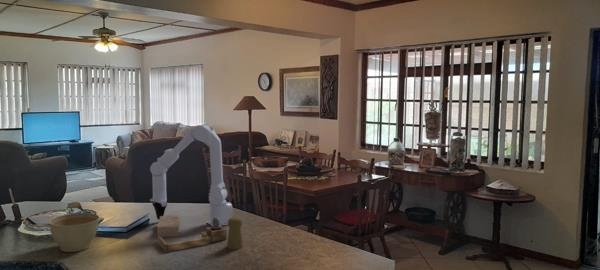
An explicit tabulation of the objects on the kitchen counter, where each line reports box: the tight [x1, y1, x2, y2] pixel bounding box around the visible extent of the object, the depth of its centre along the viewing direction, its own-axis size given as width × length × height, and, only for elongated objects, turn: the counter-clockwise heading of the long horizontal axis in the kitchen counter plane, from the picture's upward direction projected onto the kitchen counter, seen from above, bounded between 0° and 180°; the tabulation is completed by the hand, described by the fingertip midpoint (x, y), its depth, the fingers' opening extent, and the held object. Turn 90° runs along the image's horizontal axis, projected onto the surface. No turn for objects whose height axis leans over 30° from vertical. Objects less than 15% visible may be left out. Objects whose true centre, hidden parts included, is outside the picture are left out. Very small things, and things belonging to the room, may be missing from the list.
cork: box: [226, 216, 244, 250], centre depth 160 cm, size 6×6×11 cm
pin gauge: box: [212, 218, 219, 231], centre depth 169 cm, size 2×2×8 cm
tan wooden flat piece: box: [157, 231, 212, 253], centre depth 163 cm, size 17×11×2 cm, turn 123°
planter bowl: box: [48, 212, 100, 253], centre depth 157 cm, size 16×16×11 cm
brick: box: [156, 214, 181, 238], centre depth 179 cm, size 17×8×5 cm, turn 13°
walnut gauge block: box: [205, 226, 227, 243], centre depth 169 cm, size 6×6×4 cm
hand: (160, 218), depth 190 cm, fingers closed
